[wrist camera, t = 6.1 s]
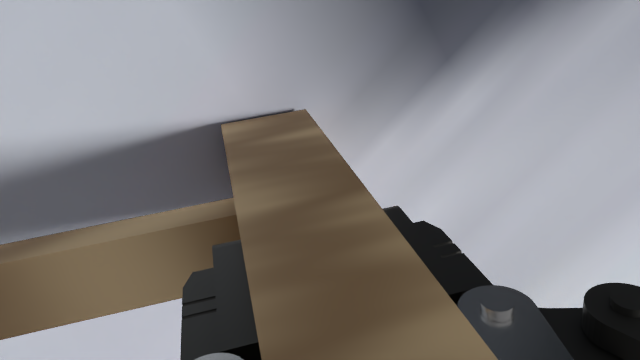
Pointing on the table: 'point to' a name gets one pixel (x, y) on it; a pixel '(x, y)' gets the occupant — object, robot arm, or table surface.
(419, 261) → the oak rake
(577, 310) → the robot arm
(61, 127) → the table surface
